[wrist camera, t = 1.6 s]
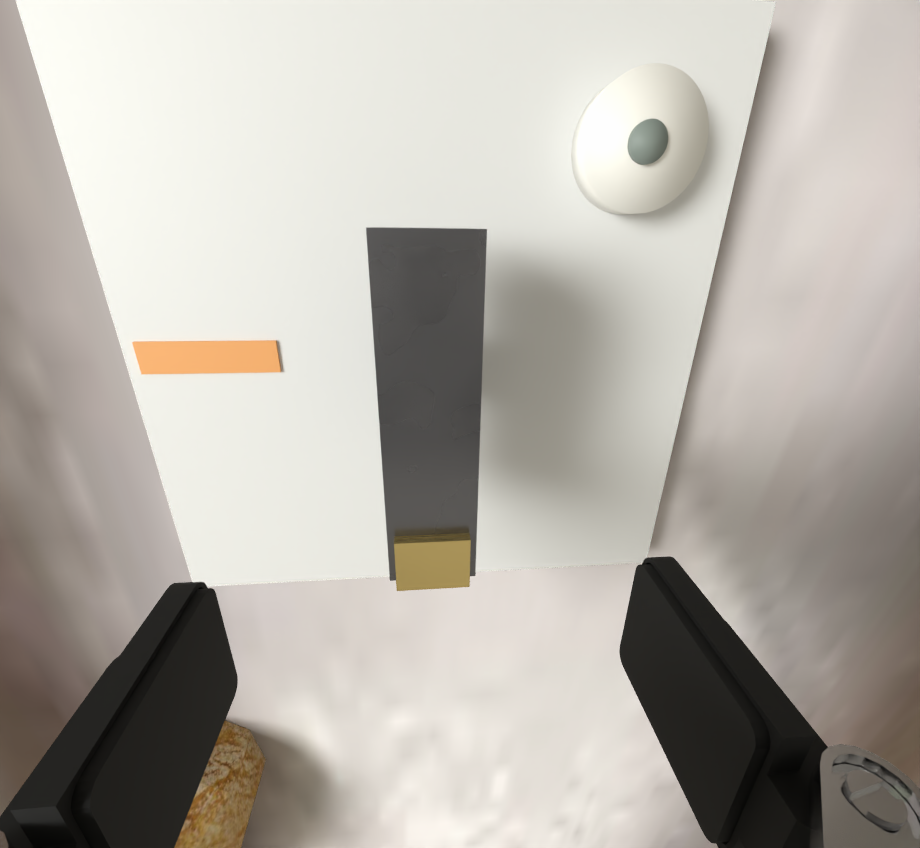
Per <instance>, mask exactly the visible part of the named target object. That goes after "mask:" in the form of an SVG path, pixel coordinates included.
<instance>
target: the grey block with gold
mask: <svg viewBox="0 0 920 848" xmlns="http://www.w3.org/2000/svg"><path fill="white" fill-rule="evenodd" d="M366 236H367V250H368V265H369V280H370V295H371V309H372V324H373V339H374V354H375V368H376V383H377V398H378V413H379V427H380V442H381V457H382V472H383V486H384V501H385V516H386V531H387V545H388V560H389V575H390V580H396V585H397V591H404V590H421V589H439V588H456V587H469V583H470V576H475V571H476V542H477V512H478V483H479V453H480V423H481V394H482V364H483V335H484V305H485V275H486V246H487V229H474V228H412V227H366Z"/></svg>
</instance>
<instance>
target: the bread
mask: <svg viewBox="0 0 920 848" xmlns="http://www.w3.org/2000/svg"><path fill="white" fill-rule="evenodd" d="M265 761H266V759H265V757H264V755H263V754H262V752H261V750H260V748H259V746H258V744H257V743H256V741H255V739H254V737H253V735H252V733H251V732H250V730H249V729H246V728H243V727H241V726H238V725H236V724H233V723H230V722H228V721H224V724H223V726H222V729H221V731H220V734H219V736H218V739H217V742H216V744H215V747H214V749H213V752H212V754H211V757H210V759H209V762H208V764H207V767H206V769H205V772H204V774H203V777H202V779H201V782H200V784H199V787H198V789H197V792H196V794H195V797H194V799H193V802H192V804H191V807H190V809H189V812H188V815H187V817H186V820H185V822H184V825H183V827H182V830H181V832H180V835H179V837H178V840H177V842H176V845H175V847H174V848H241V846H242V842H243V839H244V835H245V832H246V828H247V825H248V821H249V817H250V814H251V810H252V807H253V803H254V800H255V796H256V793H257V789H258V786H259V782H260V779H261V775H262V772H263V768H264V764H265Z"/></svg>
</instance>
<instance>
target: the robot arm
mask: <svg viewBox="0 0 920 848" xmlns="http://www.w3.org/2000/svg"><path fill="white" fill-rule="evenodd" d="M620 658H621V662H622V665H623V667H624V669H625V671H626V673H627V676H628V678H629V680H630V682H631V684H632V686H633V688H634V690H635V692H636V694H637V696H638V698H639V700H640V703H641V705H642V707H643V709H644V711H645V713H646V715H647V717H648V719H649V721H650V723H651V725H652V727H653V730H654V732H655V734H656V736H657V738H658V740H659V742H660V744H661V746H662V748H663V750H664V752H665V754H666V757H667V759H668V761H669V763H670V765H671V767H672V769H673V771H674V773H675V775H676V777H677V779H678V781H679V784H680V786H681V788H682V790H683V792H684V794H685V796H686V798H687V800H688V802H689V804H690V806H691V808H692V811H693V813H694V815H695V817H696V819H697V821H698V823H699V825H700V827H701V829H702V831H703V833H704V835H705V836H706V838H707V839H708V840H709V841H710V842H711V843H716V844H717V846H718V848H920V788H919V787H918V786H917V785H916V784H915V783H914V782H913V781H912V780H911V779H910V778H909V777H908V776H906V775H905V774H904V773H902V772H901V771H900V770H899V769H897V768H896V767H895V766H893V765H892V764H891V763H889V762H888V761H886V760H884V759H882V758H881V757H879V756H877V755H875V754H874V753H872V752H869V751H866V750H864V749H861V748H858V747H856V746H850V745H843V744H839V745H834V746H829V747H827V746H826V744H825V743H824V742H823V741H822V739H821V738H820V737H819V736H818V734H817V733H816V732H815V731H814V729H813V728H812V727H811V726H810V725H809V723H808V722H807V721H806V720H805V718H804V717H803V716H802V715H801V713H800V712H799V711H798V710H797V708H796V707H795V706H794V705H793V703H792V702H791V701H790V700H789V698H788V697H787V696H786V695H785V694H784V692H783V691H782V690H781V689H780V687H779V686H778V685H777V684H776V682H775V681H774V680H773V679H772V677H771V676H770V675H769V674H768V672H767V671H766V670H765V669H764V668H763V666H762V665H761V664H760V663H759V661H758V660H757V659H756V658H755V656H754V655H753V654H752V653H751V651H750V650H749V649H748V648H747V646H746V645H745V644H744V643H743V641H742V640H741V639H740V638H739V637H738V635H737V634H736V633H735V632H734V630H733V629H732V628H731V627H730V625H729V624H728V623H727V622H726V621H725V620H724V619H723V618H722V617H721V615H720V614H719V613H718V612H717V611H716V609H715V608H714V607H713V606H712V604H711V603H710V602H709V601H708V599H707V598H706V597H705V596H704V594H703V593H702V592H701V591H700V589H699V588H698V587H697V586H696V584H695V583H694V582H693V581H692V579H691V578H690V577H689V576H688V574H687V573H686V572H685V571H684V569H683V568H682V567H681V566H680V565H679V563H678V562H677V561H676V560H675V559H674V558H673V557H652V558H645V559H644V561H643V563H642V565H638V566H637V568H636V571H635V576H634V581H633V586H632V591H631V596H630V601H629V606H628V610H627V615H626V620H625V625H624V630H623V635H622V640H621V644H620ZM236 689H237V673H236V669H235V665H234V661H233V658H232V654H231V650H230V646H229V642H228V638H227V635H226V631H225V627H224V623H223V619H222V616H221V612H220V608H219V604H218V600H217V597H216V593H215V590H214V589H212V588H209V589H208V588H207V585H206V584H205V583H204V582H187V583H174V584H172V585H170V586H169V588H168V589H167V590H166V591H165V593H164V594H163V596H162V597H161V598H160V600H159V601H158V603H157V604H156V605H155V607H154V608H153V610H152V611H151V613H150V614H149V615H148V617H147V618H146V620H145V621H144V622H143V624H142V625H141V627H140V628H139V629H138V631H137V632H136V634H135V635H134V636H133V638H132V639H131V641H130V642H129V644H128V645H127V646H126V648H125V649H124V651H123V652H122V653H121V655H120V656H119V657H117V658H116V659H115V660H114V661H113V662H112V663H111V664H110V665H109V666H108V668H107V669H106V670H105V672H104V673H103V674H102V676H101V677H100V679H99V680H98V681H97V683H96V684H95V686H94V687H93V688H92V690H91V691H90V693H89V694H88V695H87V697H86V698H85V700H84V701H83V702H82V704H81V705H80V706H79V708H78V709H77V711H76V712H75V713H74V715H73V716H72V718H71V719H70V720H69V722H68V723H67V725H66V726H65V727H64V729H63V730H62V731H61V733H60V734H59V736H58V737H57V738H56V740H55V741H54V743H53V744H52V745H51V747H50V748H49V750H48V751H47V752H46V754H45V755H44V757H43V758H42V759H41V761H40V762H39V763H38V765H37V766H36V768H35V769H34V770H33V772H32V773H31V775H30V776H29V777H28V779H27V780H26V782H25V783H24V784H23V786H22V787H21V789H20V790H19V791H18V793H17V794H16V795H15V797H14V798H13V800H12V801H11V802H10V804H9V805H8V807H7V808H6V809H5V811H4V812H3V814H2V815H1V816H0V848H174V847H175V845H176V842H177V840H178V837H179V835H180V832H181V830H182V827H183V825H184V822H185V820H186V817H187V815H188V812H189V809H190V807H191V804H192V802H193V799H194V797H195V794H196V792H197V789H198V787H199V784H200V782H201V779H202V777H203V774H204V772H205V769H206V767H207V764H208V762H209V759H210V757H211V754H212V752H213V749H214V747H215V744H216V742H217V739H218V736H219V734H220V731H221V729H222V726H223V724H224V721H225V719H226V716H227V714H228V711H229V709H230V706H231V704H232V701H233V699H234V696H235V693H236Z"/></svg>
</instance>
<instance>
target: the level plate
mask: <svg viewBox="0 0 920 848" xmlns="http://www.w3.org/2000/svg"><path fill="white" fill-rule="evenodd" d="M16 3H17V6H18V10H19V13H20V16H21V20H22V23H23V26H24V29H25V33H26V36H27V39H28V43H29V46H30V49H31V52H32V56H33V59H34V62H35V66H36V69H37V72H38V76H39V79H40V82H41V85H42V89H43V92H44V95H45V99H46V102H47V105H48V108H49V112H50V115H51V118H52V122H53V125H54V128H55V132H56V135H57V138H58V141H59V145H60V148H61V151H62V155H63V158H64V161H65V164H66V168H67V171H68V174H69V178H70V181H71V184H72V188H73V191H74V194H75V197H76V201H77V204H78V207H79V211H80V214H81V217H82V220H83V224H84V227H85V230H86V234H87V237H88V240H89V243H90V247H91V250H92V253H93V257H94V260H95V263H96V267H97V270H98V273H99V276H100V280H101V283H102V286H103V290H104V293H105V296H106V299H107V303H108V306H109V309H110V313H111V316H112V319H113V323H114V326H115V329H116V332H117V336H118V339H119V342H120V346H121V349H122V352H123V355H124V359H125V362H126V365H127V369H128V372H129V375H130V379H131V382H132V385H133V388H134V392H135V395H136V398H137V402H138V405H139V408H140V411H141V415H142V418H143V421H144V425H145V428H146V431H147V435H148V438H149V441H150V444H151V448H152V451H153V454H154V458H155V461H156V464H157V467H158V471H159V474H160V477H161V481H162V484H163V487H164V490H165V494H166V497H167V500H168V504H169V507H170V510H171V514H172V517H173V520H174V523H175V527H176V530H177V533H178V537H179V540H180V543H181V546H182V550H183V553H184V556H185V560H186V563H187V566H188V570H189V573H190V576H191V579H192V582H204V583H205V584H206V585H207V586H226V585H244V584H263V583H281V582H300V581H318V580H337V579H355V578H374V577H390V575H389V560H388V545H387V531H386V516H385V501H384V486H383V472H382V457H381V442H380V427H379V413H378V398H377V383H376V368H375V354H374V339H373V324H372V309H371V295H370V280H369V265H368V250H367V236H366V227H412V228H474V229H487V246H486V275H485V305H484V335H483V364H482V394H481V423H480V453H479V483H478V512H477V542H476V571H475V572H484V571H503V570H521V569H540V568H558V567H577V566H595V565H614V564H632V563H643V561H644V559H645V558H647V556H648V552H649V547H650V543H651V539H652V535H653V530H654V526H655V522H656V517H657V513H658V509H659V504H660V500H661V496H662V491H663V487H664V483H665V479H666V474H667V470H668V466H669V461H670V457H671V453H672V448H673V444H674V440H675V435H676V431H677V427H678V423H679V418H680V414H681V410H682V405H683V401H684V397H685V392H686V388H687V384H688V379H689V375H690V371H691V367H692V362H693V358H694V354H695V349H696V345H697V341H698V336H699V332H700V328H701V323H702V319H703V315H704V311H705V306H706V302H707V298H708V293H709V289H710V285H711V280H712V276H713V272H714V267H715V263H716V259H717V255H718V250H719V246H720V242H721V237H722V233H723V229H724V224H725V220H726V216H727V212H728V207H729V203H730V199H731V194H732V190H733V186H734V181H735V177H736V173H737V168H738V164H739V160H740V156H741V151H742V147H743V143H744V138H745V134H746V130H747V125H748V121H749V117H750V112H751V108H752V104H753V100H754V95H755V91H756V87H757V82H758V78H759V74H760V69H761V65H762V61H763V56H764V52H765V48H766V44H767V39H768V35H769V31H770V26H771V22H772V18H773V13H774V9H775V5H776V1H764V0H16Z"/></svg>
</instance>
